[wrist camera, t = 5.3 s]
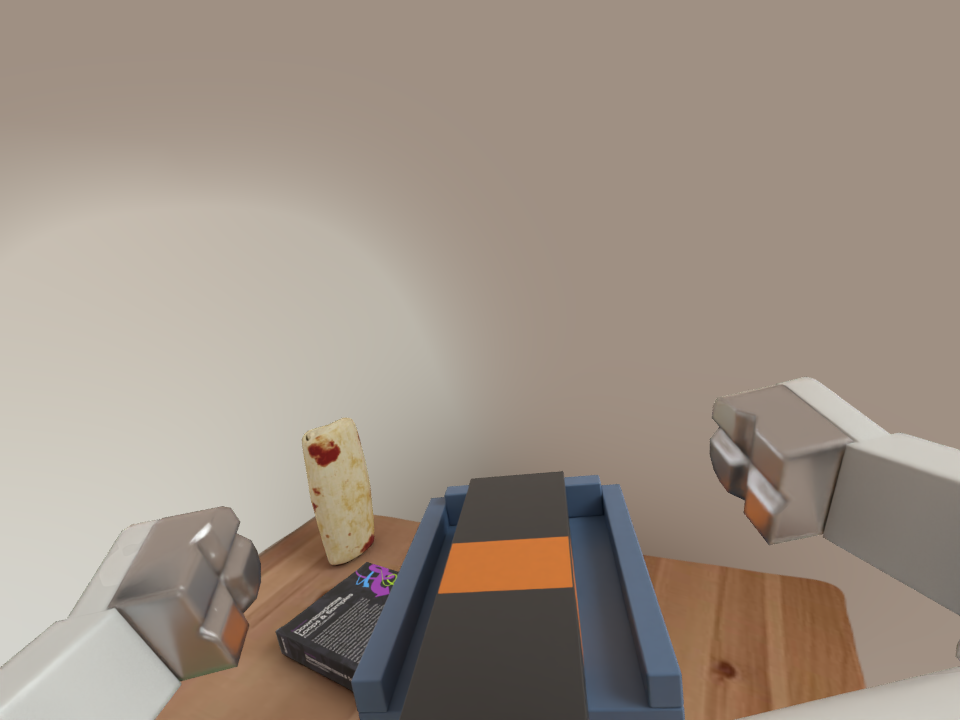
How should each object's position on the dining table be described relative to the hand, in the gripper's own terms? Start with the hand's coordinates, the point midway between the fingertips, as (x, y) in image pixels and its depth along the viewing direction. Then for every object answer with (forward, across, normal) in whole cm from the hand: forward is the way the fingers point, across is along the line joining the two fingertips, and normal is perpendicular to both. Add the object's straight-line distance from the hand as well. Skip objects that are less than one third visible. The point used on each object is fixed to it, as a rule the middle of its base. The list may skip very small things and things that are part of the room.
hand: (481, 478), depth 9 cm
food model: (+46, +22, +52) cm, 73 cm away
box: (+28, +15, +47) cm, 56 cm away
